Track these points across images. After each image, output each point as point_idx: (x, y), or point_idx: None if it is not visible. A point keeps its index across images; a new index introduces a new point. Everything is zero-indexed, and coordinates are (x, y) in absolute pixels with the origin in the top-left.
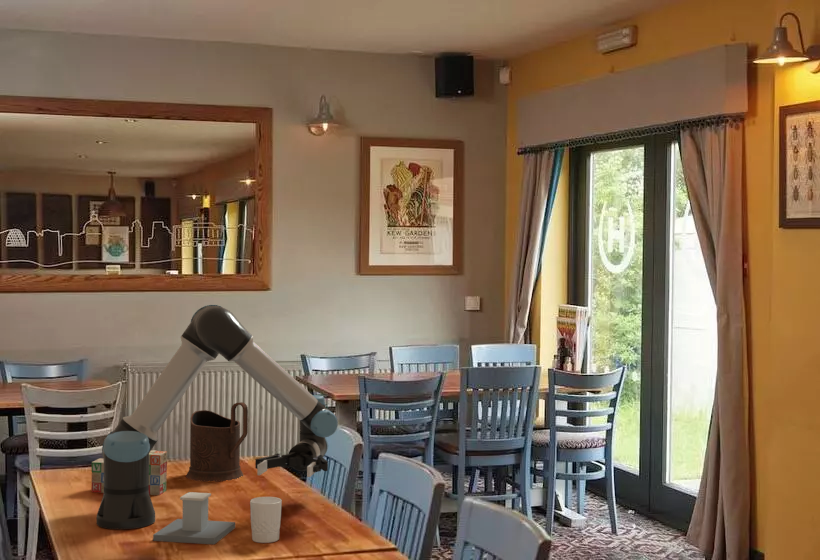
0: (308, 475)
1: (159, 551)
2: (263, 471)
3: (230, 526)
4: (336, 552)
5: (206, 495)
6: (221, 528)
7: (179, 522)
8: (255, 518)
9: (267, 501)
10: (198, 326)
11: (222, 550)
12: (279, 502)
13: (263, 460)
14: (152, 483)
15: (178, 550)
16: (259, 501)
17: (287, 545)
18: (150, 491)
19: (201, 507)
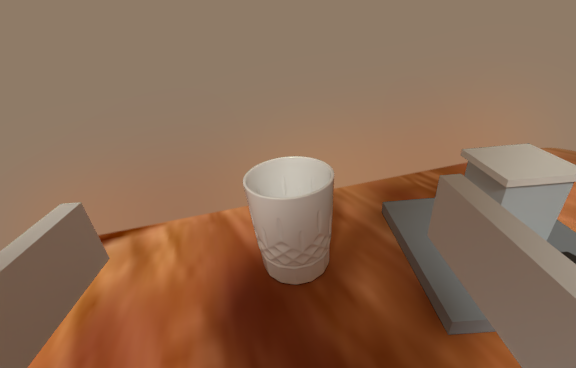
0: (96, 252)
1: (436, 174)
2: (476, 292)
3: (427, 281)
4: (138, 230)
5: (489, 165)
6: (428, 254)
7: None
8: (306, 191)
9: (298, 207)
10: None
11: (345, 196)
12: (246, 174)
13: None
14: None
15: (413, 182)
16: (321, 198)
17: (236, 239)
18: None
19: (465, 175)
